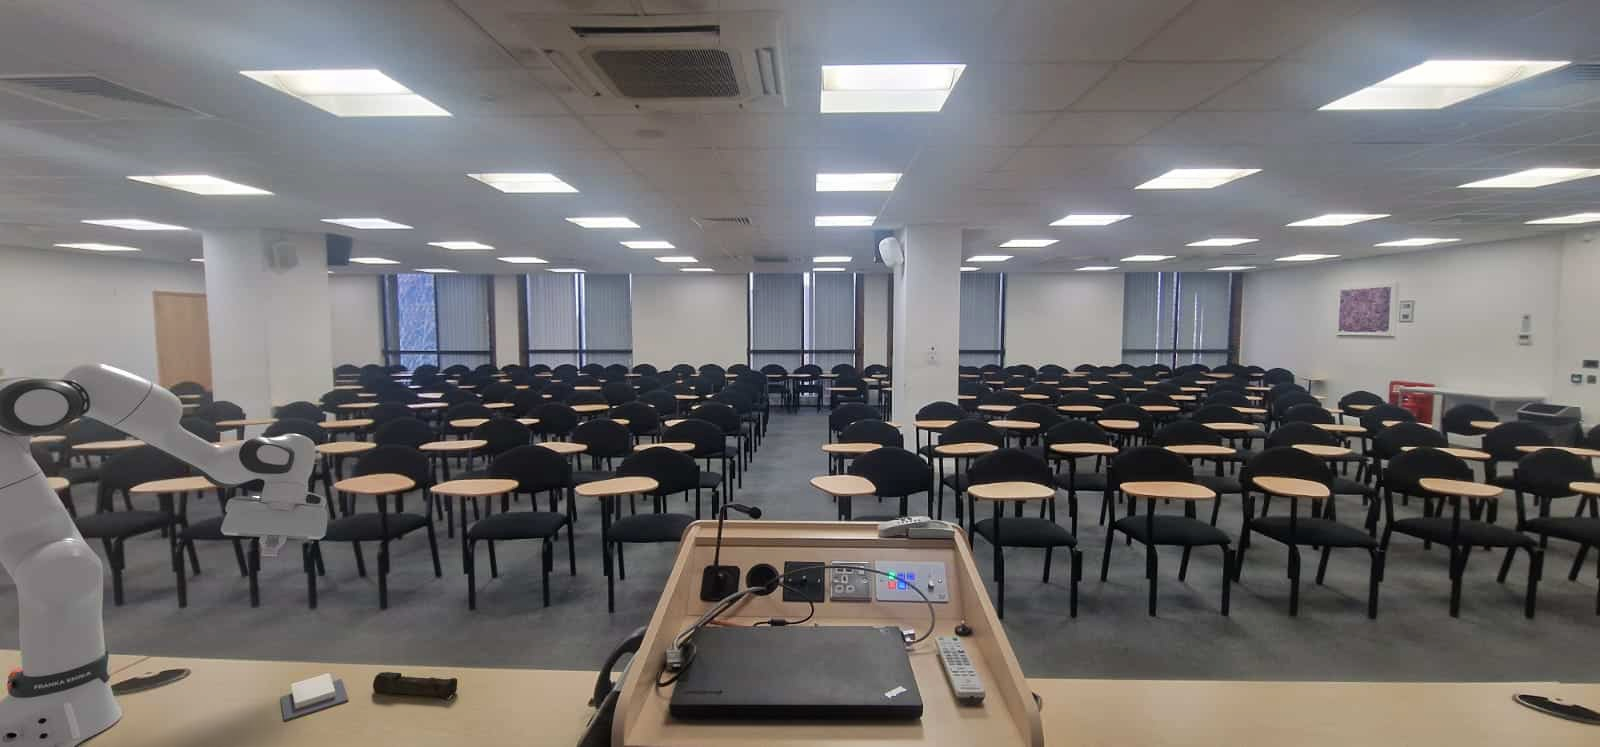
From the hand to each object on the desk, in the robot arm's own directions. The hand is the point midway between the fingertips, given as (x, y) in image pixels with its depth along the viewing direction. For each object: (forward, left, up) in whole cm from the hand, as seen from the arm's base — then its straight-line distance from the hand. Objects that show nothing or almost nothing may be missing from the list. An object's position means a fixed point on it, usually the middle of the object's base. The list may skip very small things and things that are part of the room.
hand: (268, 555), depth 157 cm
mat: (+5, -26, -27) cm, 37 cm away
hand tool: (+22, -38, -27) cm, 51 cm away
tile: (+5, -19, -26) cm, 32 cm away
